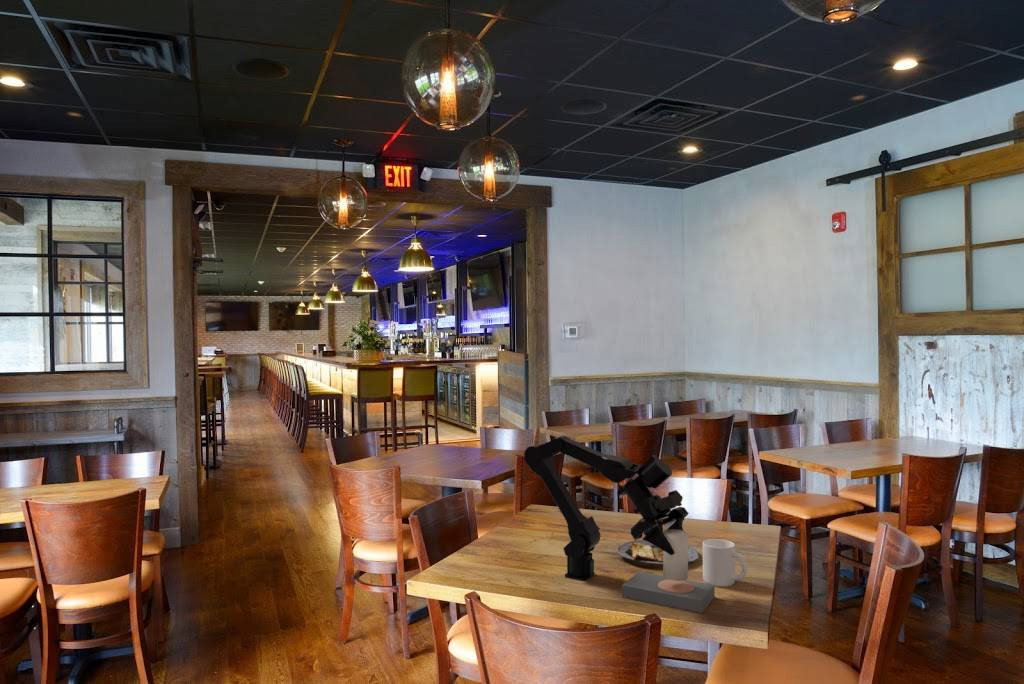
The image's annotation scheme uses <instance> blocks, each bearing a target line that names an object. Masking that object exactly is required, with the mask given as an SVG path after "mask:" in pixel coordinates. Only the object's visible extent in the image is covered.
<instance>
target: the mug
mask: <svg viewBox="0 0 1024 684" xmlns="http://www.w3.org/2000/svg"><path fill="white" fill-rule="evenodd" d="M736 559H737V560H738V561H739V562H740V564H741V565H740V566H741V571H740V573H739V574H736ZM747 573H748V565H747V562H746V559H745V558H744V556H743V555H741V554H740V553H739V552H737V551H736V545H735V543H734V542H732V541H730V540H727V539H721V538H719V539H718V538H716V539H715V538H710V539H705V540H703V541H702V580H703V582H704V583H707V584H712V585H715V587H719V588H721V587H722V588H725V587H731V586H733V585H734V584H735V581H741V580H743V579H744V578H746V575H747Z"/></svg>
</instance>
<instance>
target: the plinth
mask: <svg viewBox="0 0 1024 684" xmlns="http://www.w3.org/2000/svg"><path fill="white" fill-rule="evenodd" d="M715 587H716V586H715V585H712V584H707V583H706V582H700V581H694V580H689V579H686V580H682V581H674V580H669V579H666V578H665V577H664V576H663V574H655V573H652V572H651V573H649V572H644V571H638V572H636V573H635V574H634V575H632V576H631V577H630V578H629V579H628V580H626V581H625V582H624V583H623V584H622V585H621V598H624V599H630V600H634V601H640V602H644V603H650V604H654V605H659V606H663V607H669V608H674V609H678V610H684V611H689V612H694V613H698V614H702V613H703V612H704V611H705V610H706V608H707V607H708V606H709V605H710V604H711V602H712V600H713V599H714V598H715V596H716V595H715V593H716V591H715Z"/></svg>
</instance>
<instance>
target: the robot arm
mask: <svg viewBox="0 0 1024 684" xmlns="http://www.w3.org/2000/svg"><path fill="white" fill-rule="evenodd" d="M559 453H561V454H562V453H563V454H564V455H566V456H568V457H571V458H573V459H575V460H576V461H579V462H581V463H584V464H586V465H588V466H590V467H592V468H594V469H596V470H597V471H599V473H600V474H601V476H604V478H606V479H608V480H609V481H610V482H612V483H615V484H619V485H617V493H616V494H617V496H618V497H619V496H627V497H628V499H629V500H630V502H631V503H632V504H633V505H634V507H635V509H634V510H633V512H634V513H635V515H637V514H640V516H641V517H642V518H640V519H639V520H638V521H637V522H636V523H635V524H634V525H633V526H632V527H631V528H630V535H631V536H632V538H633V539H634V540H646V541H648V542H649V543H651V544H653V545H655V546H657V547H659V548H660V549H662V550H663V551H665V552H667V553H668V554H670V555H673V554H674V553H675V552H674V550H673V548H672V546H671V545H670V543H669V542H668V540H667V538H666V537H665V535H664V533H663V531H664V527H666V530H669V529H677V530H683V531H684V528H683V522H684V520H685V518H686V517H688V515H689V512H688V511H687V509H686V508H685V507H683V506H682V505H683V504H682V502H683V498H684V497H683V495H681V494H680V492H678V490H677V489H675V490H672V491H669V492H668V495H666V496H664V497H662V498H661V496H660V495H658V494H657V495H654V494H653V492H652V490H650V489H651V488H652V489H654V490H656V489H658V488H659V487H660V486H661V485H663V484H664V483H665V481H667V480H668V479H669V478H670V477H671V476H672V475H673V471H672V469H671V468H670V466H669V464H668V463H667V462H665V461H663V460H662V459H661V458H658V457H657V455H655V454H654V455H651V456H649V458H648V459H647V461H646V462H645V463H644V464H642V465H639V464H636V463H633V462H632V461H631V460H630V459H629V458H626V457H622V456H619V455H613V454H606V453H602V452H601V451H598V450H596V449H593V448H591V447H589V446H587V445H585V444H582V443H580V442H579V441H575V440H574V439H572V438H570V437H568V436H567V435H561V436H557V437H556V436H555V438H553V439H552V440H550V441H548V442H546V443H538V444H534V445H531V446H528V447H526V449H525V450H524V453H523V460H524V462H525V464H526V465H527V467H528V468H529V469H530V470H531V471H532V472H533V473H534V474H535V475H537V476H539V478H541V480H542V481H543V483H544V485H545V487H546V489H547V490H548V492H549V494H550V495H551V497H552V500H553V501H554V502H555V504H556V506H557V508H558V510H559V511H560V513H561V515H562V516H563V518H564V519H565V521H566V525H567V531H568V535H569V539H570V541H569V543H567V544H566V545H565V546H564V547H563V552H564V555H565V557H566V559H567V560H566V563H567V565H566V567H567V568H566V570H567V571H566V573H565V574H564V577H566V578H571V579H577V580H581V581H587V580H589V579H590V578H591V577H592V576H594V575H595V574H596V572H595V559H594V558H593V551H594V550H595V548H596V545H598V544H599V543H600V540H601V532H600V529H601V528H600V527H599V526H598V525H597V523H596V521H595V519H594V517H593V516H589V517H587V516H585V515H584V514H583V513H582V512H581V510H580V508H579V507H578V505H577V503H576V501H575V500H574V498H573V496H572V495H571V493H570V491H569V490H568V487H567V486H566V484H565V483H564V481H563V479H562V478H561V476H560V474H559V472H558V471H557V469H556V468H557V467H556V459H555V456H556V455H557V454H559ZM634 477H635V478H634ZM633 478H634V479H633ZM628 479H629V480H628ZM626 480H628V481H627V482H625V484H620V483H621V482H624V481H626ZM643 535H644V536H643Z"/></svg>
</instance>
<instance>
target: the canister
mask: <svg viewBox="0 0 1024 684" xmlns="http://www.w3.org/2000/svg"><path fill="white" fill-rule="evenodd" d="M663 533H664V535H665V537H666V538H667V540H668V542H669V543H670V545H671V546H672V548H673V550H674V552H675V553H674V554H673V555H670V554H668V553H667V552H665V551H663V565H662V568H663V569H662V572H663V573H662V576H664V577H665V578H666V579H669V580H674V581H682V580H688V578H689V563H688V559H689V558H688V545H689V533H688V532H687V531H686V530H684V529H683V530H677V529H669V530H667V529H665V530H663Z"/></svg>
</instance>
